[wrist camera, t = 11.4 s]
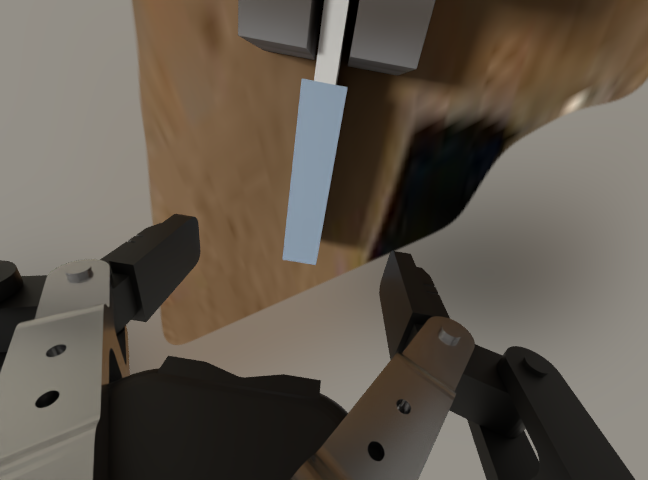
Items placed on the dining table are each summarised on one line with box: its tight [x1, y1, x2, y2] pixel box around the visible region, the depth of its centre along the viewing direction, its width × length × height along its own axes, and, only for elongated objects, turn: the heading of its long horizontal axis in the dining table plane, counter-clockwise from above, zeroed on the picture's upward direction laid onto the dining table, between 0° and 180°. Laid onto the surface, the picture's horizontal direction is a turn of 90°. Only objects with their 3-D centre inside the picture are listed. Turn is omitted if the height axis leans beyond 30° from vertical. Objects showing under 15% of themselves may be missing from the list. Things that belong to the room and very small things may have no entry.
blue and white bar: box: [283, 0, 350, 265], centre depth 22 cm, size 19×3×5 cm, turn 171°
